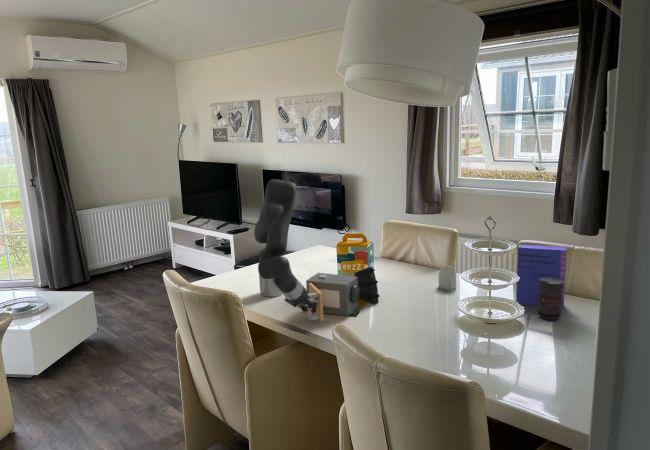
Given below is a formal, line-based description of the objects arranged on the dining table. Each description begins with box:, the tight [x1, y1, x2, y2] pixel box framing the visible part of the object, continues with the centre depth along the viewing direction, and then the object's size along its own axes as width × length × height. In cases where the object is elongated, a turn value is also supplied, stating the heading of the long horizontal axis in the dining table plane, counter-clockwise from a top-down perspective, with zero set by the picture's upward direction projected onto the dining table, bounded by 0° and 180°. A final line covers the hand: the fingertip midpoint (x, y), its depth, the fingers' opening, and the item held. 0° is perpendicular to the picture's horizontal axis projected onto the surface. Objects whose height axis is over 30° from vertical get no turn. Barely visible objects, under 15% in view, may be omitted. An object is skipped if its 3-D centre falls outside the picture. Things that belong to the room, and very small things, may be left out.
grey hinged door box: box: [305, 272, 360, 317], centre depth 208 cm, size 20×11×14 cm, turn 65°
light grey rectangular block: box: [438, 264, 457, 291], centre depth 229 cm, size 4×7×10 cm, turn 41°
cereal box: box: [515, 244, 568, 310], centre depth 202 cm, size 17×5×24 cm, turn 65°
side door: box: [307, 282, 324, 322], centre depth 199 cm, size 15×5×11 cm, turn 19°
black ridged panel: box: [353, 266, 380, 305], centre depth 218 cm, size 4×13×15 cm, turn 31°
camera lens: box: [537, 277, 563, 323], centre depth 189 cm, size 8×8×15 cm
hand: (310, 310), depth 196 cm, fingers open, 3 cm apart
